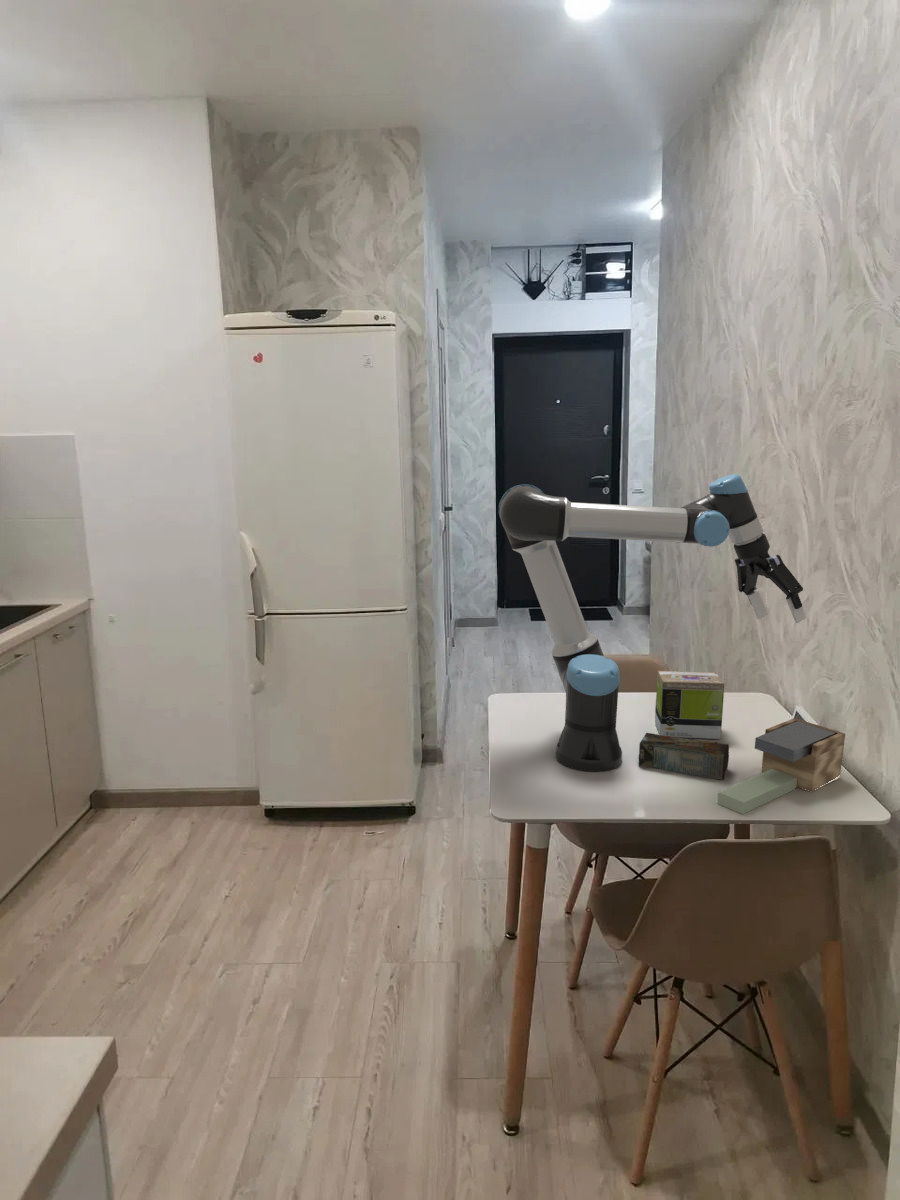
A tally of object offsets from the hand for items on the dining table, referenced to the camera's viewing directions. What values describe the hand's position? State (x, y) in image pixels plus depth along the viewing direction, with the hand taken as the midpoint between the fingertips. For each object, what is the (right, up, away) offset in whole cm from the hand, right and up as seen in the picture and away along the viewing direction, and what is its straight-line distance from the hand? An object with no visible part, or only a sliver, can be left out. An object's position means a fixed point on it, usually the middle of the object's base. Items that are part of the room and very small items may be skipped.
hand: (781, 618), depth 205 cm
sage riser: (-14, -37, -23) cm, 46 cm away
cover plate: (-4, -27, -17) cm, 33 cm away
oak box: (-1, -35, -13) cm, 37 cm away
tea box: (-19, -29, +13) cm, 37 cm away
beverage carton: (-26, -34, -9) cm, 44 cm away
